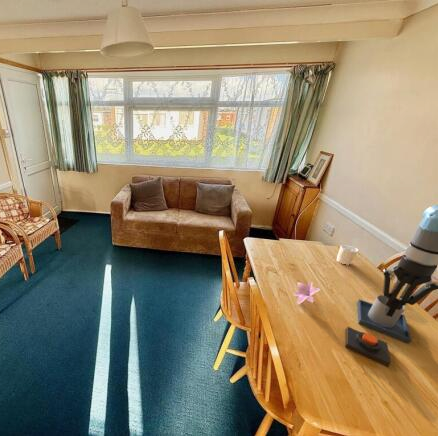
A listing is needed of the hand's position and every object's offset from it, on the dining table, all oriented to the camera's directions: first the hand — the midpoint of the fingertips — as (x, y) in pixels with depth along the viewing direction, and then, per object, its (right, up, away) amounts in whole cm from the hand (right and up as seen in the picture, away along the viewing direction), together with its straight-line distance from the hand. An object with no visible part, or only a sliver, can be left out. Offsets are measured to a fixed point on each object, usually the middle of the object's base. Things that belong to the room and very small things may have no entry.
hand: (388, 313), depth 82 cm
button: (-3, -12, +4) cm, 13 cm away
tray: (+14, -10, +17) cm, 24 cm away
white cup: (+32, +8, +56) cm, 65 cm away
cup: (+14, -10, +17) cm, 24 cm away
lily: (-11, -5, +28) cm, 31 cm away
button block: (-3, -16, +6) cm, 17 cm away
